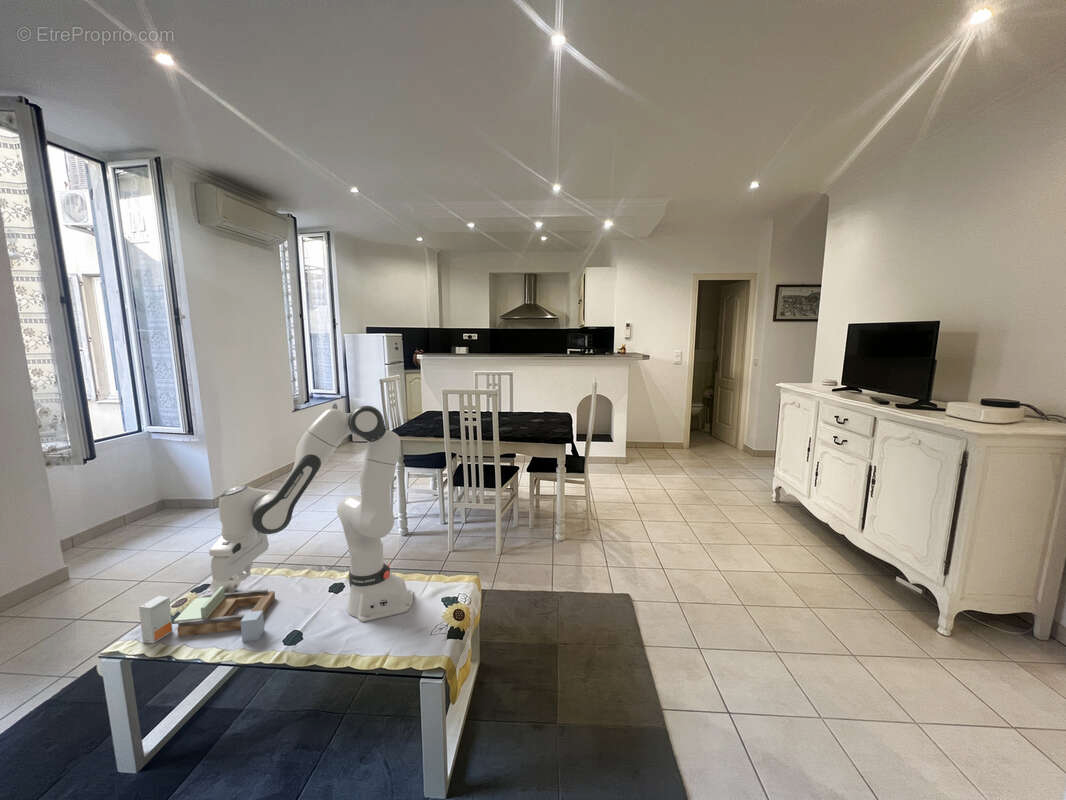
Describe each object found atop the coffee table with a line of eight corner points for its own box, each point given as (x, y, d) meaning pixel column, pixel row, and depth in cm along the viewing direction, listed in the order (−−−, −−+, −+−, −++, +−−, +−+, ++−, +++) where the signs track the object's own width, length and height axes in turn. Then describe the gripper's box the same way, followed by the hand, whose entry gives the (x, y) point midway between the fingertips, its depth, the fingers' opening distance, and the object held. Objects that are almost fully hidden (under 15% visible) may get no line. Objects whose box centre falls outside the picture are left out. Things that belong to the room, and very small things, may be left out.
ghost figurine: (224, 604, 148) (222, 577, 147) (205, 598, 151) (203, 572, 150) (248, 590, 157) (246, 565, 155) (230, 585, 160) (228, 560, 158)
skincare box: (153, 644, 128) (149, 608, 127) (142, 642, 129) (138, 606, 127) (173, 631, 134) (170, 596, 133) (162, 629, 135) (158, 595, 133)
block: (264, 630, 135) (262, 610, 134) (258, 639, 131) (256, 619, 130) (248, 632, 134) (247, 612, 133) (242, 641, 130) (240, 621, 129)
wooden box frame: (275, 598, 152) (274, 587, 151) (255, 627, 136) (254, 616, 136) (206, 605, 147) (205, 594, 147) (178, 636, 132) (176, 624, 131)
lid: (225, 597, 146) (224, 586, 146) (206, 619, 135) (204, 607, 134) (195, 600, 144) (194, 589, 144) (173, 623, 133) (172, 610, 132)
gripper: (253, 522, 141) (257, 560, 143) (204, 554, 121) (210, 597, 123) (271, 522, 141) (275, 560, 143) (225, 554, 120) (231, 597, 123)
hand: (245, 578), depth 133 cm, fingers closed
